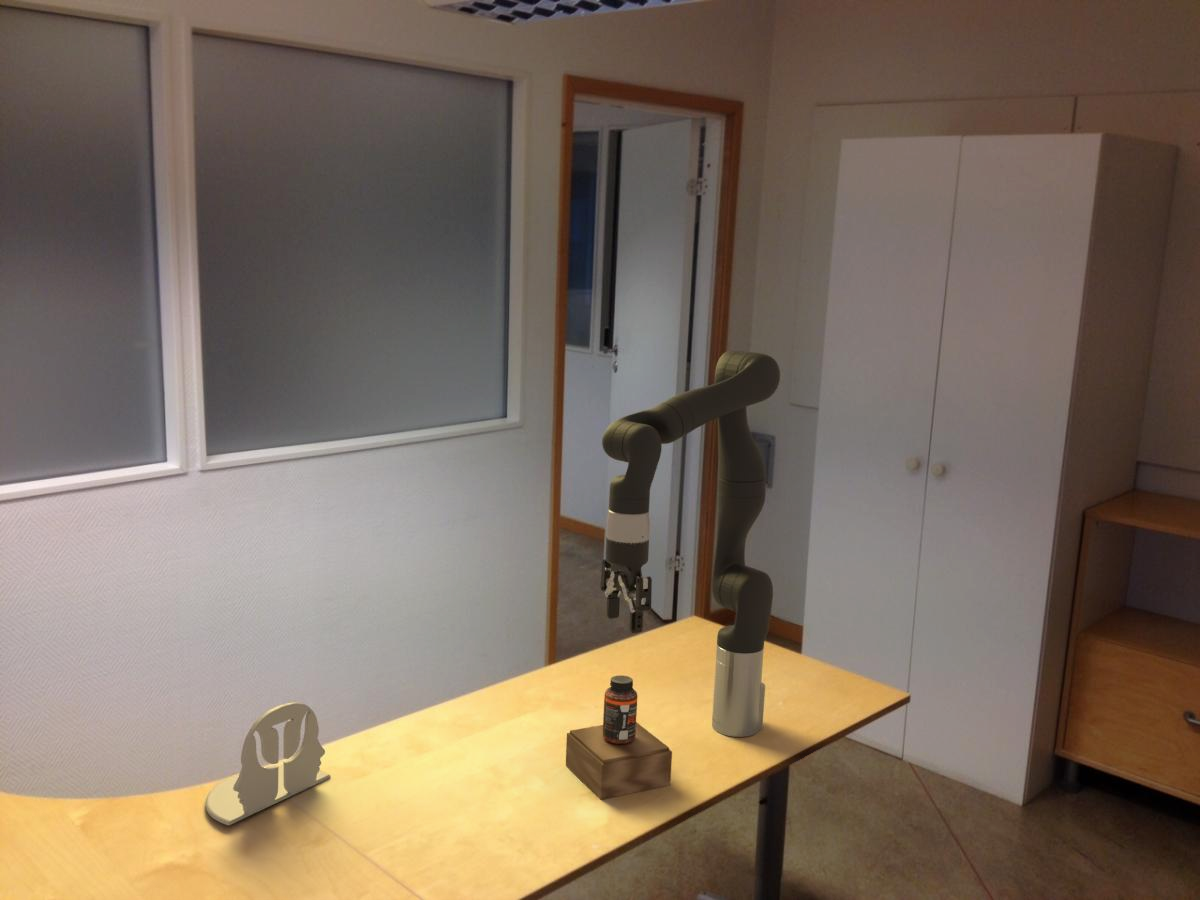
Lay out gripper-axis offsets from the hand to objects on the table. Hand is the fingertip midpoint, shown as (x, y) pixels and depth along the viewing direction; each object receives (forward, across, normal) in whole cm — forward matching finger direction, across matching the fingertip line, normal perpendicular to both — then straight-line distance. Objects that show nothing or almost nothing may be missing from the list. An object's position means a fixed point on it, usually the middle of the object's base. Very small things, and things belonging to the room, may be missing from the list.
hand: (623, 624), depth 196 cm
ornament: (+29, +20, +60) cm, 69 cm away
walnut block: (+28, 0, 0) cm, 28 cm away
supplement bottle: (+22, 0, 0) cm, 22 cm away
